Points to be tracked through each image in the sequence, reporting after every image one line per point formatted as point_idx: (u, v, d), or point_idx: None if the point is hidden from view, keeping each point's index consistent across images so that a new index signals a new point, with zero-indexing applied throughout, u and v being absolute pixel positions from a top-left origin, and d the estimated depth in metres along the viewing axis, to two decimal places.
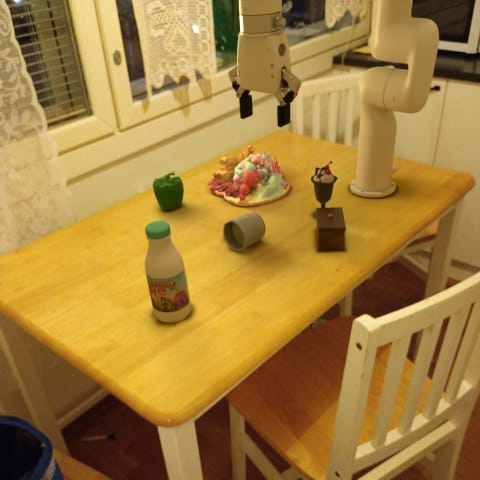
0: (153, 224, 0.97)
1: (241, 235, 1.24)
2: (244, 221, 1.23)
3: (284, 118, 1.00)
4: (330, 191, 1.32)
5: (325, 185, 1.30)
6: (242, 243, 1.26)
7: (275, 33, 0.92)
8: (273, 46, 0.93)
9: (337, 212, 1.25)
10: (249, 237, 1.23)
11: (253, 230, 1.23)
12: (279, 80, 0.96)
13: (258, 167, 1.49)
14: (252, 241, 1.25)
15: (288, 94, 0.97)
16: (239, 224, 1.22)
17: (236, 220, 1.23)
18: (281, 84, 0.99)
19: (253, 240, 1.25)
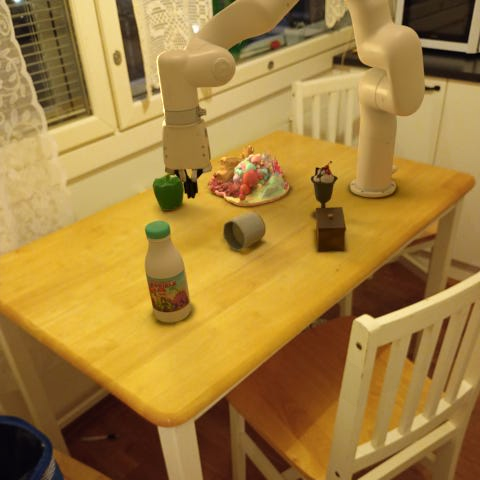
0: (153, 224, 0.97)
1: (241, 235, 1.24)
2: (244, 221, 1.23)
3: (196, 191, 1.21)
4: (330, 191, 1.32)
5: (325, 185, 1.30)
6: (242, 243, 1.26)
7: (199, 121, 1.11)
8: (202, 131, 1.12)
9: (337, 212, 1.25)
10: (249, 237, 1.23)
11: (253, 230, 1.23)
12: (208, 157, 1.15)
13: (258, 167, 1.49)
14: (252, 241, 1.25)
15: (198, 172, 1.18)
16: (239, 224, 1.22)
17: (236, 220, 1.23)
18: None
19: (253, 240, 1.25)
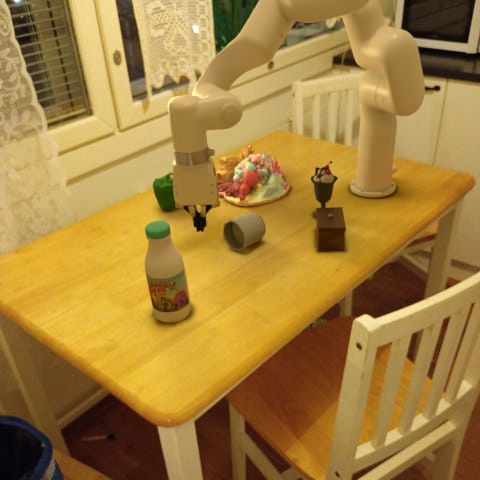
0: (153, 224, 0.97)
1: (241, 235, 1.24)
2: (244, 221, 1.23)
3: (204, 224, 1.26)
4: (330, 191, 1.32)
5: (325, 185, 1.30)
6: (242, 243, 1.26)
7: (208, 161, 1.17)
8: (211, 170, 1.17)
9: (337, 212, 1.25)
10: (249, 237, 1.23)
11: (253, 230, 1.23)
12: (217, 193, 1.21)
13: (258, 167, 1.49)
14: (252, 241, 1.25)
15: (207, 207, 1.23)
16: (239, 224, 1.22)
17: (236, 220, 1.23)
18: None
19: (253, 240, 1.25)
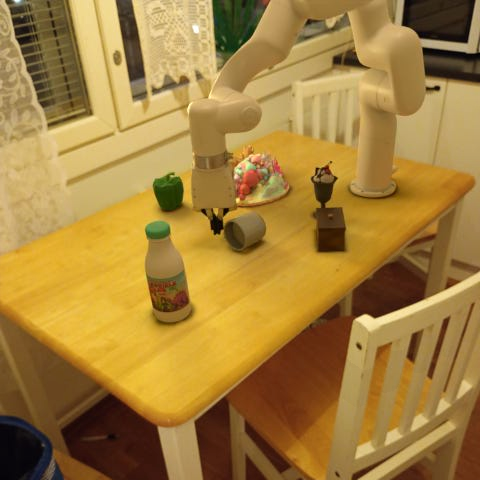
0: (153, 224, 0.97)
1: (242, 235, 1.24)
2: (244, 221, 1.23)
3: (221, 227, 1.26)
4: (330, 191, 1.32)
5: (325, 185, 1.30)
6: (242, 243, 1.26)
7: (226, 164, 1.17)
8: (229, 174, 1.17)
9: (337, 212, 1.25)
10: (250, 237, 1.23)
11: (254, 230, 1.23)
12: (234, 197, 1.21)
13: (258, 167, 1.49)
14: (253, 241, 1.25)
15: (225, 210, 1.23)
16: (240, 224, 1.22)
17: (237, 220, 1.22)
18: None
19: (254, 240, 1.25)
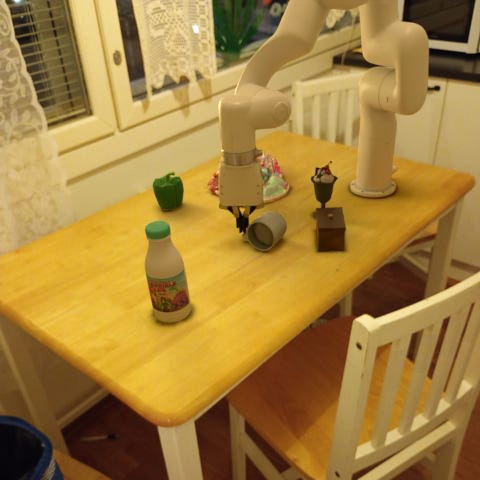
0: (153, 224, 0.97)
1: (267, 234, 1.24)
2: (269, 220, 1.22)
3: (247, 225, 1.25)
4: (330, 191, 1.32)
5: (325, 185, 1.30)
6: (268, 242, 1.25)
7: (255, 161, 1.16)
8: (258, 171, 1.16)
9: (337, 212, 1.25)
10: (277, 235, 1.23)
11: (279, 227, 1.23)
12: (262, 194, 1.20)
13: None
14: (278, 239, 1.25)
15: (251, 208, 1.22)
16: (267, 223, 1.21)
17: (262, 220, 1.22)
18: None
19: (279, 238, 1.25)
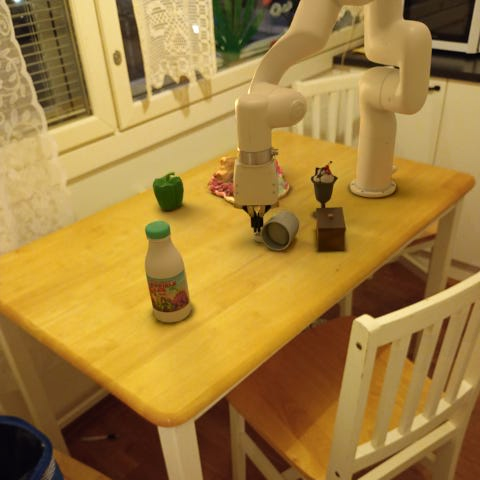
0: (153, 224, 0.97)
1: (282, 234, 1.24)
2: (284, 219, 1.22)
3: (262, 225, 1.25)
4: (330, 191, 1.32)
5: (325, 185, 1.30)
6: (283, 242, 1.25)
7: (271, 160, 1.15)
8: (274, 170, 1.15)
9: (337, 212, 1.25)
10: (292, 234, 1.23)
11: (293, 226, 1.23)
12: (277, 194, 1.19)
13: None
14: (293, 238, 1.25)
15: (266, 207, 1.22)
16: (282, 223, 1.21)
17: (277, 220, 1.21)
18: None
19: (293, 237, 1.25)
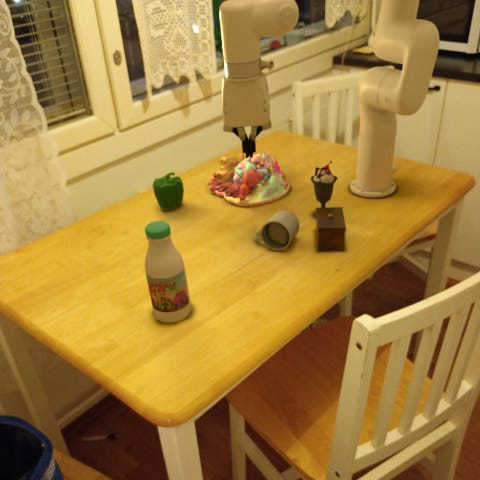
0: (153, 224, 0.97)
1: (282, 234, 1.24)
2: (284, 219, 1.22)
3: (254, 149, 1.18)
4: (330, 191, 1.32)
5: (325, 185, 1.30)
6: (283, 242, 1.25)
7: (261, 74, 1.08)
8: (264, 85, 1.08)
9: (337, 212, 1.25)
10: (292, 234, 1.23)
11: (293, 226, 1.23)
12: (269, 112, 1.12)
13: (258, 167, 1.49)
14: (293, 238, 1.25)
15: (258, 129, 1.15)
16: (283, 223, 1.21)
17: (277, 219, 1.21)
18: None
19: None
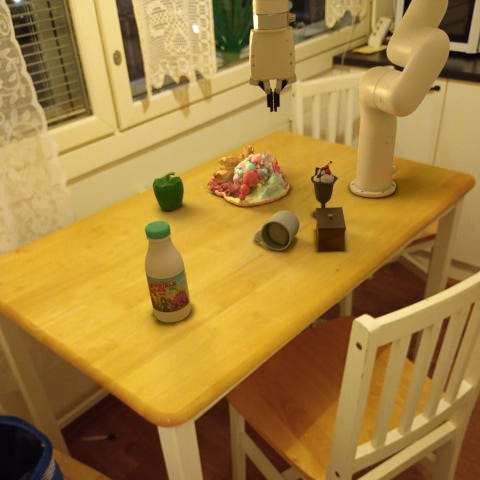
0: (153, 224, 0.97)
1: (282, 234, 1.24)
2: (284, 219, 1.22)
3: (278, 104, 1.22)
4: (330, 191, 1.32)
5: (325, 185, 1.30)
6: (283, 242, 1.25)
7: (288, 27, 1.12)
8: (291, 37, 1.12)
9: (337, 212, 1.25)
10: (292, 234, 1.23)
11: (293, 226, 1.23)
12: None
13: (258, 167, 1.49)
14: (293, 238, 1.25)
15: (283, 83, 1.19)
16: (283, 223, 1.21)
17: (277, 219, 1.21)
18: None
19: None
